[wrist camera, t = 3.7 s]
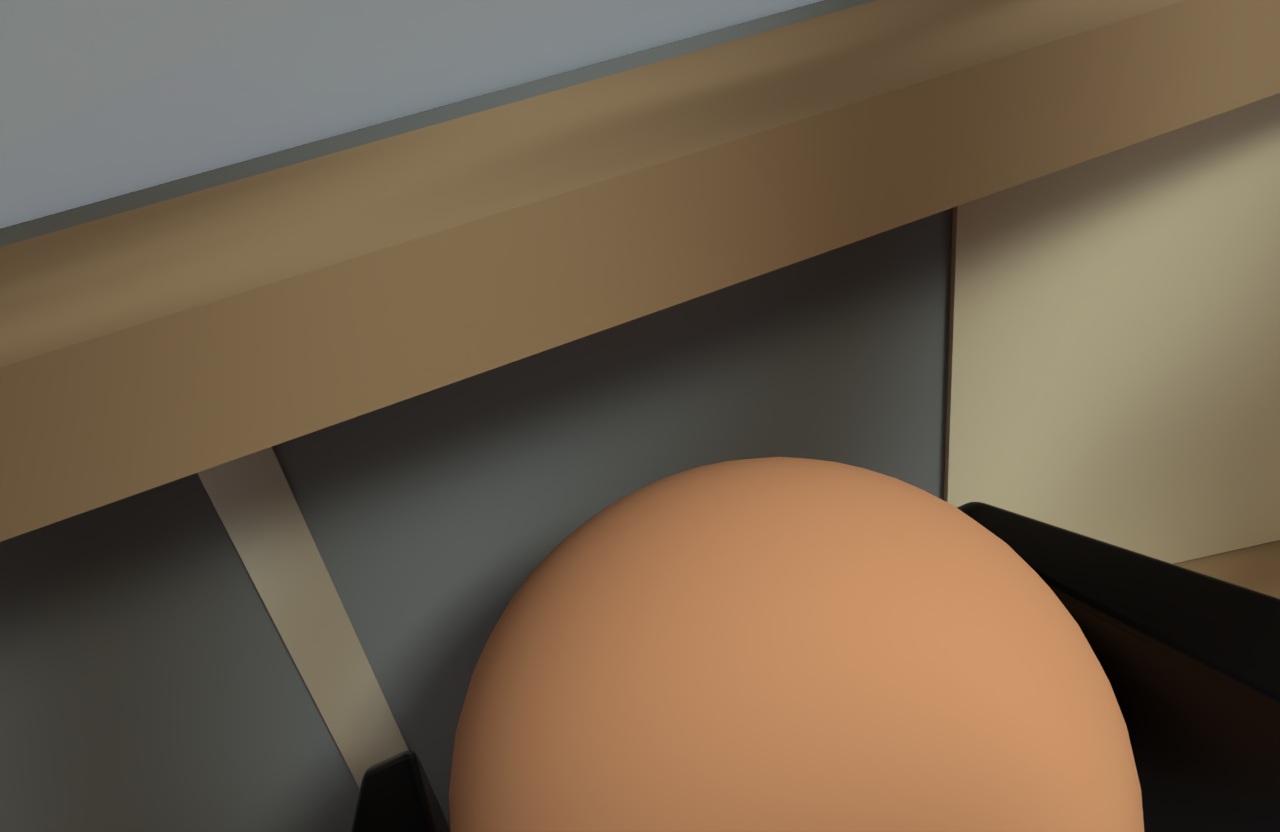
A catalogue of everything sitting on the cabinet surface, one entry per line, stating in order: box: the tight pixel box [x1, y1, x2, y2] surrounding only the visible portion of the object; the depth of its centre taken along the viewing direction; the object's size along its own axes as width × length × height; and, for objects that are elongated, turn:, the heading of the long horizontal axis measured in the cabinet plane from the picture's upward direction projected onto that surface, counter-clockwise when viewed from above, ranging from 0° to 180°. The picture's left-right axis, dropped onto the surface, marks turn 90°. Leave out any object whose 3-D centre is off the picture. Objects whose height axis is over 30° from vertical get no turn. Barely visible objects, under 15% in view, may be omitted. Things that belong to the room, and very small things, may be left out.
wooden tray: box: [0, 0, 1280, 832], centre depth 10 cm, size 27×9×5 cm, turn 101°
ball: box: [449, 457, 1144, 832], centre depth 8 cm, size 5×5×5 cm
